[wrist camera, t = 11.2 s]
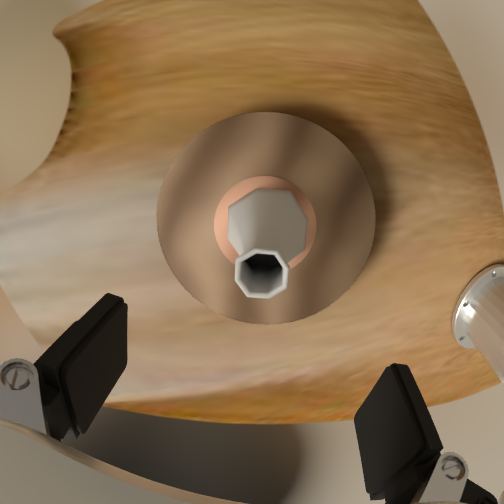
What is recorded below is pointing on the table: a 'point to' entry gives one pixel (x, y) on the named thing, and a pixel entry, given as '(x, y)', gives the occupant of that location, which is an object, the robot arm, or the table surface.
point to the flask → (265, 240)
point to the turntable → (266, 177)
